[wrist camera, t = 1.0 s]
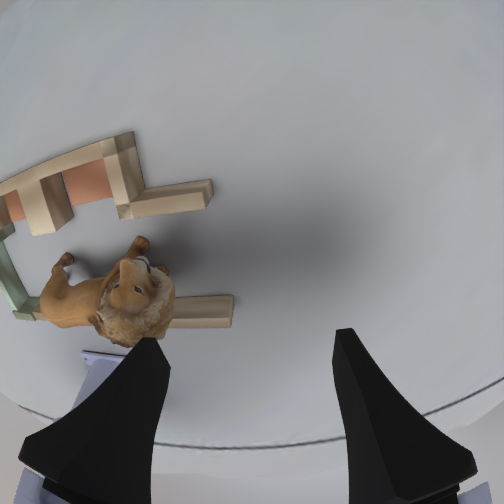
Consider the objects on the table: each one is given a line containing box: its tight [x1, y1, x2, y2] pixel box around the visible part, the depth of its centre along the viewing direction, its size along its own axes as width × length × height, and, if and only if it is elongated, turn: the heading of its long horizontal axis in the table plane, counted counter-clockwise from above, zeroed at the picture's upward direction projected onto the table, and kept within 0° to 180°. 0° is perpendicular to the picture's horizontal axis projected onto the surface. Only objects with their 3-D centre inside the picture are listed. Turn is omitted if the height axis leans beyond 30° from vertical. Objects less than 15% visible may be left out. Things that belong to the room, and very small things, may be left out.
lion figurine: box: [40, 236, 175, 348], centre depth 16 cm, size 15×5×9 cm, turn 109°
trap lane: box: [0, 131, 234, 328], centre depth 18 cm, size 14×25×3 cm, turn 97°
